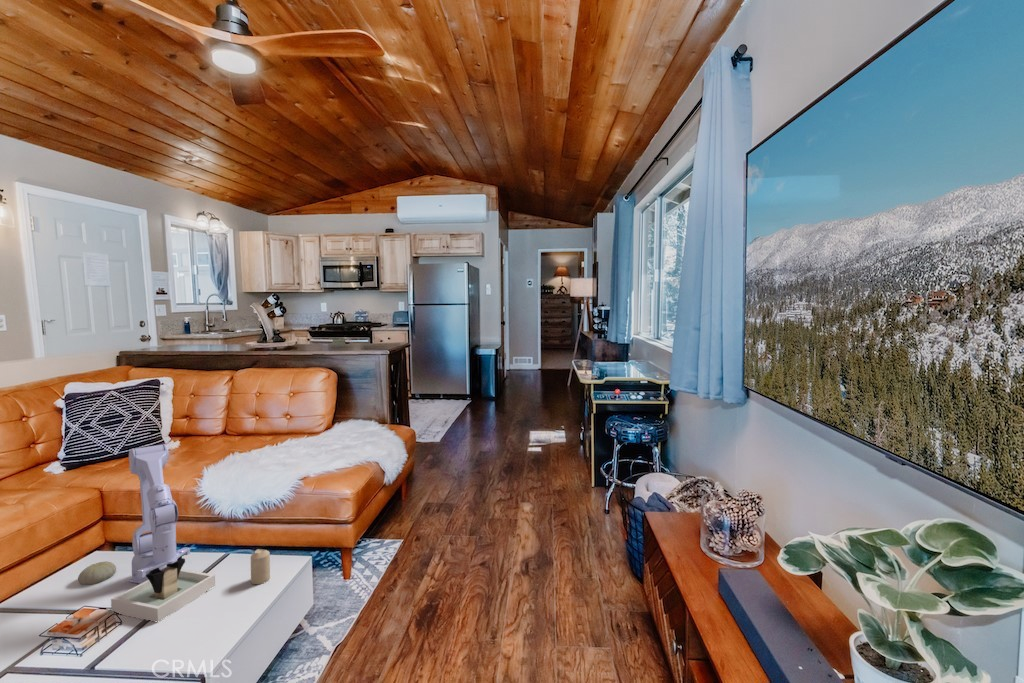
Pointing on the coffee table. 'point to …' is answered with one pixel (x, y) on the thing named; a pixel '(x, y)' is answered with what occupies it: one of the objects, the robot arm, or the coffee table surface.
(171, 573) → the peg
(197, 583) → the tray
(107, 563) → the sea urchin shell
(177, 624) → the coffee table surface
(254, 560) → the candle
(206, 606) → the coffee table surface
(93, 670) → the coffee table surface
